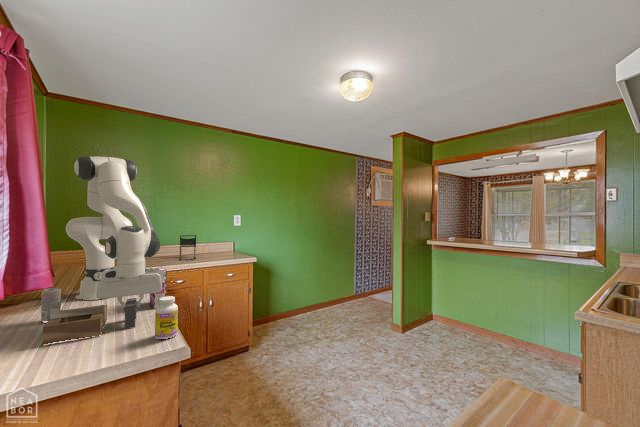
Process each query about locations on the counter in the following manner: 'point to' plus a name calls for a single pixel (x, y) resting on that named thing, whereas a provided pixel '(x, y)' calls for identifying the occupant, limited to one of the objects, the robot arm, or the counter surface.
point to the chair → (187, 242)
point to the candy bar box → (156, 296)
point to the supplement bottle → (166, 318)
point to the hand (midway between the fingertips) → (130, 307)
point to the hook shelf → (74, 323)
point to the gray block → (130, 313)
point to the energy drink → (49, 301)
